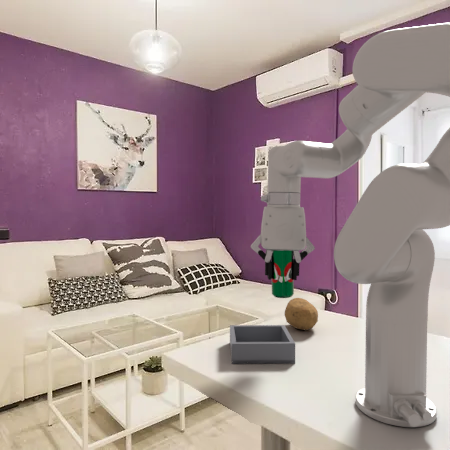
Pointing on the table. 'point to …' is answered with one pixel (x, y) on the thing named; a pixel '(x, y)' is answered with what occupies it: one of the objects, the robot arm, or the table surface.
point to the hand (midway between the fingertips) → (281, 278)
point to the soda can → (282, 273)
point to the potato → (301, 314)
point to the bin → (261, 344)
